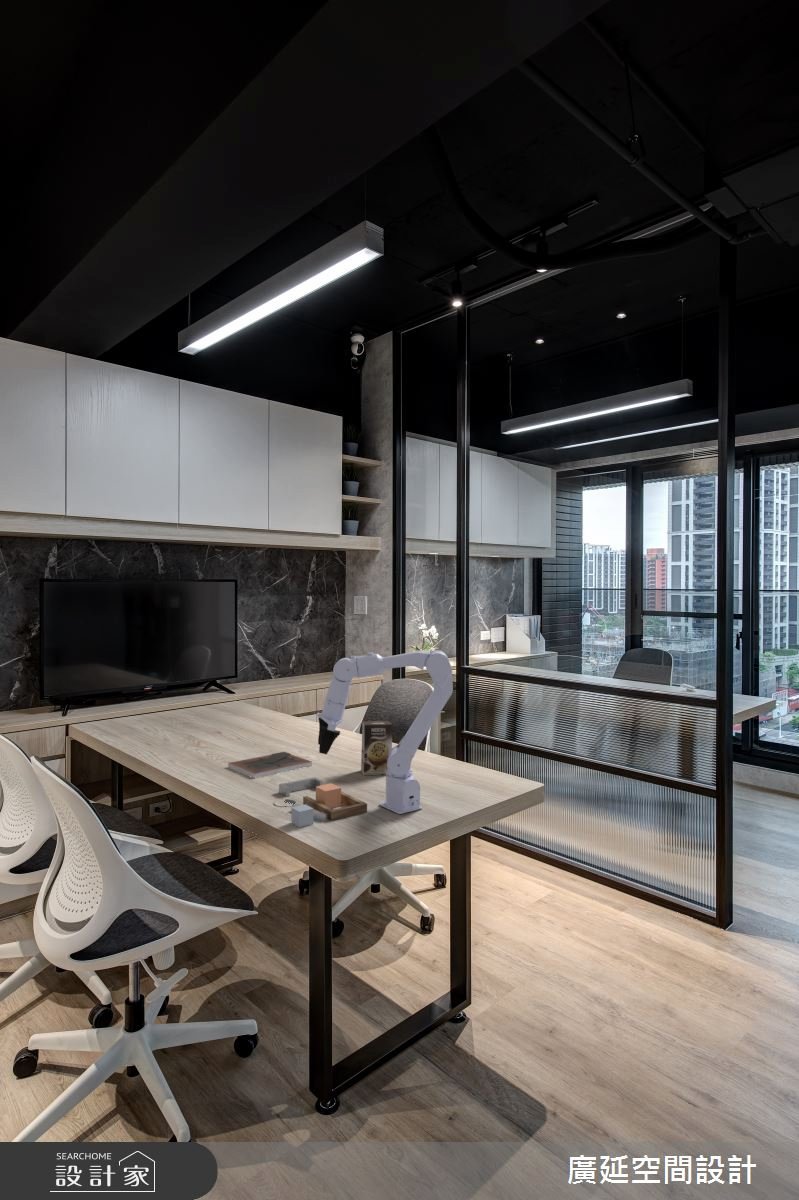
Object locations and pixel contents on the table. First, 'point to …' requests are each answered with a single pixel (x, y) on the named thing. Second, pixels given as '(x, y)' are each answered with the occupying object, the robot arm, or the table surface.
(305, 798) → the bay
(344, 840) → the table surface
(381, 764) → the coffee box
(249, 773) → the picture frame
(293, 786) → the rail
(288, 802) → the hole disc
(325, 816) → the steel bar
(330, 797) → the cube
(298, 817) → the slate block
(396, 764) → the robot arm
